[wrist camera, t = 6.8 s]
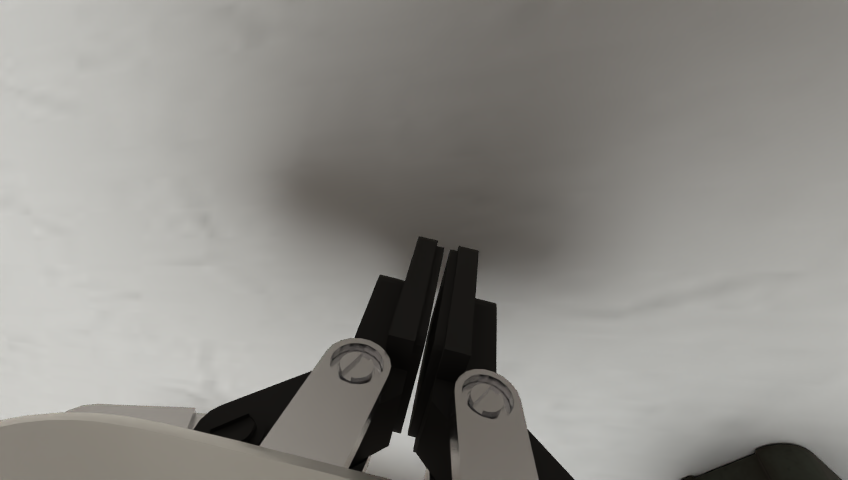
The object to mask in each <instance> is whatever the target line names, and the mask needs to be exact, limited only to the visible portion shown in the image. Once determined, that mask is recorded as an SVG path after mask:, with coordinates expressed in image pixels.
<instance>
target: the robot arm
mask: <svg viewBox="0 0 848 480" xmlns="http://www.w3.org/2000/svg"><path fill="white" fill-rule="evenodd" d="M437 243H438V241H436V240H432V239H428V238H424V237H420V236H419V238H418V241H417V244H416V247H415V251H414V254H413V257H412V260H411V264H410V267H409V270H408V273H407V277H406V280H405V281H404V280H400V279H396V278H392V277H388V276H384V275H380V276H379V278H378V280H377V283H376V285H375V288H374V290H373V293H372V295H371V298H370V300H369V303H368V305H367V308H366V310H365V313H364V315H363V318H362V320H361V323H360V325H359V328H358V330H357V333H356V335H355V338H349V339H344V340H340V341H338V342H337V343H335V344H333V345H332V346H331V347H330V348H329V349H328V350H327V351H326V352H325V353H324V355H323V356H322V358H321V359H320V361H319V362H318V363H317V365H316V366H315V368H314V369H313V370H312V371H310V372H308V373H305V374H302V375H300V376H297V377H295V378H292V379H289V380H287V381H284V382H281V383H279V384H276V385H273V386H271V387H268V388H266V389H263V390H260V391H258V392H255V393H252V394H250V395H247V396H244V397H242V398H239V399H237V400H234V401H231V402H229V403H226V404H223V405H221V406H219V407H217V408H215V409H213V410H211V411H210V412H208V413H207V414H203V413H196V411H195V408H186V407H161V406H136V405H111V404H92V405H83V406H80V407H77V408H74V409H71V410H68V411H66V412H60V413H49V414H38V415H26V416H21V417H15V418H9V419H4V420H0V480H391V479H387V478H383V477H379V476H375V475H371V474H367V473H365V471H366V469H367V467H368V464H369V461H370V457H371V455H372V454H374V453H376V452H378V451H380V450H382V449H383V448H385V447H387V446H389V443H390V439H391V435H392V431H393V432H397V433H401V430H402V427H403V423H404V419H405V416H406V412H407V408H408V405H409V401H410V397H411V394H412V390H413V386H414V383H415V379H416V375H417V372H418V368H419V364H420V361H421V357H422V353H423V349H424V345H425V341H426V345H425V350H424V355H423V360H422V365H421V370H420V375H419V380H418V385H417V390H416V395H415V400H414V405H413V410H412V415H411V420H410V425H409V430H408V435H409V436H412V437H416V438H415V444H414V450H413V452H416V453H417V455H418V456H419V458H420V459H421V461H422V462H423V463H424V465H425V466H426V471H425V478H424V480H574V479H573V478H572V476H571V475H570V474H569V473H568V472H567V471H566V470H565V469H564V468H563V467H562V466H561V465H560V464H559V463H558V461H557V460H556V459H555V458H554V457H553V456H552V455H551V454H550V453H549V452H548V451H547V450H546V449H545V447H544V446H543V445H542V444H541V443H540V442H539V441H538V440H537V439H536V438H535V437H534V436H533V435H532V434H531V432H530V431H529V430H528V429H527V425H526V421H525V417H524V412H523V408H522V403H521V399H520V397H519V394H518V392H517V390H516V389H515V388H514V386H513V385H512V384H511V383H510V382H509V381H508V380H507V379H506V378H504V377H503V376H501V375H499V374H497V373H496V331H497V307H496V303H492V302H488V301H484V300H480V299H476V298H475V294H476V281H477V267H478V253H479V251H477V250H473V249H469V248H465V247H461V246H459V248H458V251H455V250H451V249H450V252H449V256H448V259H447V263H446V267H445V270H444V274H443V278H442V282H441V285H440V289H439V293H438V296H437V300H436V304H435V307H434V311H433V315H432V318H431V322H430V317H431V312H432V307H433V302H434V297H435V292H436V287H437V282H438V277H439V272H440V267H441V262H442V257H443V252H444V248H443V247H439V246H437ZM429 322H430V326H429ZM428 327H429V330H428ZM427 332H428V335H427ZM426 336H427V340H426Z"/></svg>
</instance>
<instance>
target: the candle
mask: <svg viewBox="0 0 848 480" xmlns="http://www.w3.org/2000/svg"><path fill="white" fill-rule="evenodd" d="M683 480H841V479H840V478H839V477H838V476H837V475H836V474H835V473H834V472H832V471H831V470H830V469H829V468H828V467H827V466H826V465H825V464H824V463H823V462H821V461H820V460H819V459H818V458H817V457H816V456H815V455H814V454H813V453H811V452H810V451H808V450H807V449H805V448H802V447H799V446H796V445H789V444H777V445H770V446H766V447H762V448H759V449H757V450H755V454H754V455H751V456H749V457H746V458H744V459H741V460H739V461H736V462H734V463H731V464H729V465H726V466H724V467H721V468H719V469H716V470H714V471H711V472H709V473H706V474H704V475H701V476H699V477H692V476H690V477H687V478H685V479H683Z"/></svg>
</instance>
